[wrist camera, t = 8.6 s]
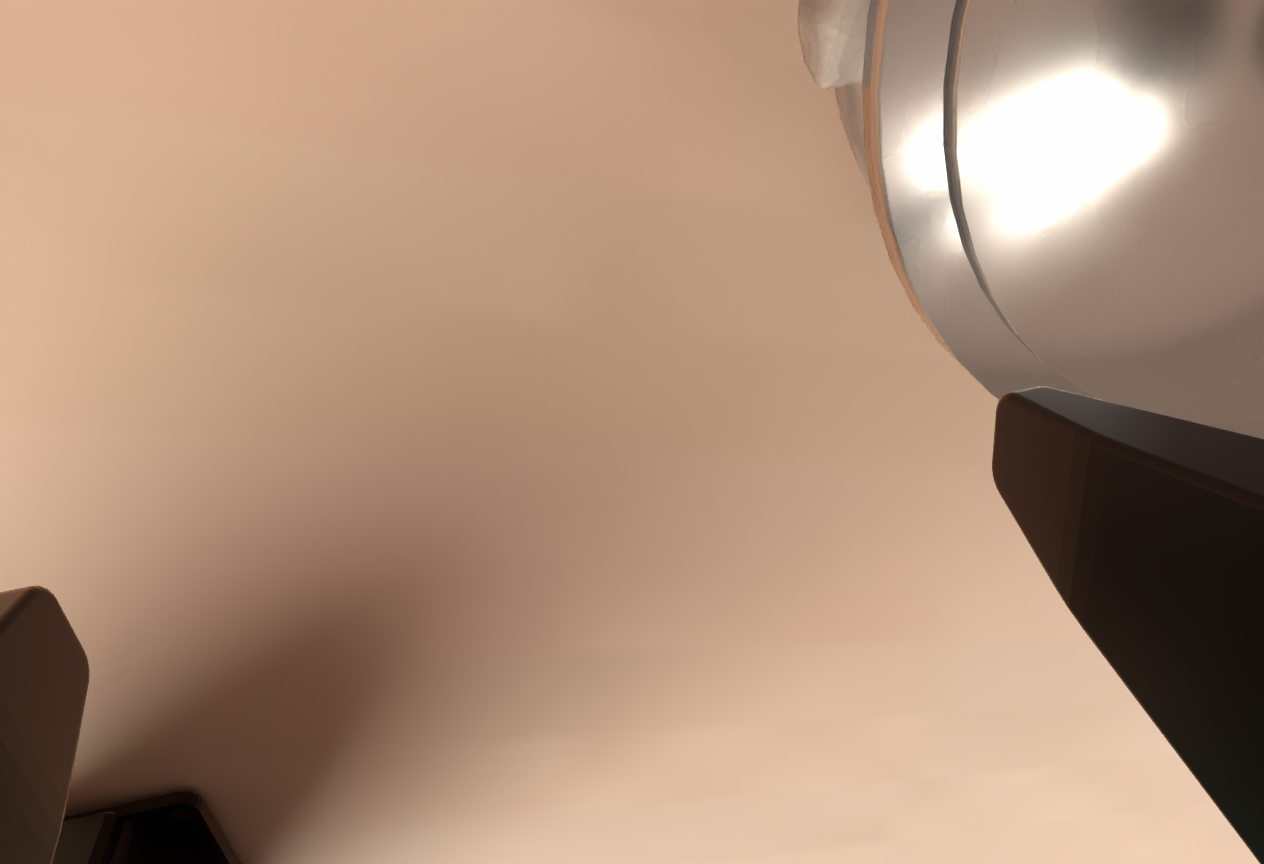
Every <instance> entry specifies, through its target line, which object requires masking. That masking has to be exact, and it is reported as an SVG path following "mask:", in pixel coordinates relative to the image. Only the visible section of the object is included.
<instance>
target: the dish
mask: <svg viewBox="0 0 1264 864" xmlns="http://www.w3.org/2000/svg"><path fill="white" fill-rule="evenodd" d="M870 1H871V0H800V1H799V12H798V34H799V38H800V43H801V48H802V53H803V57H804V62H805V63H806V65H807V67H808V69H809V71H810V73H811V75H812V77H813V79H814V81H815V83H816V84H817V85H818V86H820V87H821V88H834V87H835V92H836V97H837V102H838V106H839V111H840V115H841V119H842V122H843V125H844V128H845V131H846V134H847V137H848V139H849V142H850V145H851V148H852V151H853V153H854V156H855V158H856V160H857V163H858V165H859V167H860V169H861V172H862V174H863V176H864V177H865V179H866V181H867V183H868V185H869V187H870V181H869V175H868V170H867V164H866V158H865V152H864V129H863V103H862V78H863V66H864V54H865V42H866V29H867V17H868V11H869V6H870ZM870 188H871V187H870Z"/></svg>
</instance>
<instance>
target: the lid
mask: <svg viewBox="0 0 1264 864" xmlns="http://www.w3.org/2000/svg"><path fill="white" fill-rule="evenodd" d="M862 103H863V129H864V152H865V158H866V164H867V170H868V175H869V181H870V187H871V193H872V199H873V205H874V210H875V213H876V216H877V220H878V223H879V226H880V229H881V232H882V235H883V238H884V242H885V245H886V248H887V251H888V254H889V257H890V260H891V263H892V265H893V267H894V269H895V271H896V273H897V275H898V277H899V279H900V281H901V283H902V285H903V287H904V289H905V291H906V293H907V295H908V297H909V299H910V301H911V303H912V305H913V307H914V308H915V310H916V311H917V312H918V314H919V315H920V317H921V318H922V319H923V321H924V322H925V324H926V325H927V326H928V328H929V329H930V331H931V332H932V333H933V335H934V336H935V338H936V339H937V340H938V342H939V343H940V344H941V345H942V346H943V347H944V348H945V349H946V350H947V351H948V352H949V353H950V354H951V355H952V356H953V357H954V358H955V359H956V360H957V361H958V362H959V363H960V364H961V365H962V366H963V367H964V368H965V369H966V370H967V371H968V372H969V373H970V374H971V375H972V376H973V377H974V378H975V379H976V380H977V381H978V382H979V383H980V384H982V385H983V386H984V387H985V388H986V389H987V390H988V391H989V392H990V393H991V394H993V395H994V396H995V397H997V398H998V399H1001V398H1002V397H1003V396H1004V395H1005V394H1006V393H1009V392H1013V391H1018V390H1023V389H1028V388H1033V387H1039V386H1045V387H1051V388H1055V389H1059V390H1063V391H1067V392H1071V393H1075V394H1079V395H1084V396H1088V397H1092V398H1096V399H1100V400H1104V401H1108V402H1112V403H1117V404H1121V405H1125V406H1129V407H1133V408H1137V409H1141V410H1145V411H1150V412H1154V413H1158V414H1162V415H1166V416H1170V417H1174V418H1179V419H1183V420H1187V421H1191V422H1195V423H1199V424H1203V425H1207V426H1212V427H1216V428H1220V429H1224V430H1228V431H1232V432H1236V433H1240V434H1245V435H1249V436H1253V437H1257V438H1261V439H1264V0H871V1H870V6H869V11H868V17H867V29H866V42H865V54H864V66H863V78H862Z"/></svg>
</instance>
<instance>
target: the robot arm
mask: <svg viewBox="0 0 1264 864" xmlns="http://www.w3.org/2000/svg"><path fill="white" fill-rule="evenodd" d="M992 471H993V477H994V481H995V484H996V487H997V489H998V491H999V493H1000V495H1001V496H1002V498H1003V500H1004V501H1005V503H1006V505H1007V507H1008V508H1009V510H1010V512H1011V513H1012V515H1013V517H1014V518H1015V520H1016V522H1017V524H1018V525H1019V527H1020V529H1021V530H1022V532H1023V534H1024V535H1025V537H1026V539H1027V540H1028V542H1029V544H1030V546H1031V547H1032V549H1033V551H1034V552H1035V554H1036V556H1037V557H1038V559H1039V561H1040V563H1041V564H1042V566H1043V568H1044V569H1045V571H1046V573H1047V574H1048V576H1049V578H1050V579H1051V581H1052V583H1053V585H1054V586H1055V588H1056V590H1057V591H1058V593H1059V594H1060V596H1061V597H1062V599H1063V601H1064V602H1065V604H1066V605H1067V607H1068V608H1069V610H1070V611H1071V613H1072V614H1073V615H1074V617H1075V618H1076V619H1077V621H1078V622H1079V624H1080V625H1081V626H1082V628H1083V629H1084V631H1085V632H1086V633H1087V635H1088V636H1089V637H1090V639H1091V640H1092V641H1093V643H1094V644H1095V645H1096V646H1097V648H1098V649H1099V650H1100V652H1101V653H1102V654H1103V656H1104V657H1105V658H1106V660H1107V661H1108V662H1109V664H1110V665H1111V666H1112V668H1113V669H1114V670H1115V672H1116V673H1117V674H1118V676H1119V677H1120V678H1121V680H1122V681H1123V682H1124V684H1125V685H1126V686H1127V688H1128V689H1129V690H1130V692H1131V693H1132V694H1133V696H1134V697H1135V698H1136V700H1137V701H1138V702H1139V704H1140V705H1141V706H1142V708H1143V709H1144V710H1145V711H1146V713H1147V714H1148V715H1149V717H1150V718H1151V719H1152V721H1153V722H1154V723H1155V725H1156V726H1157V727H1158V729H1159V730H1160V731H1161V733H1162V734H1163V735H1164V737H1165V738H1166V739H1167V741H1168V742H1169V743H1170V745H1171V746H1172V747H1173V749H1174V750H1175V751H1176V753H1177V754H1178V755H1179V757H1180V758H1181V759H1182V761H1183V762H1184V763H1185V765H1186V766H1187V767H1188V769H1189V770H1190V771H1191V772H1192V774H1193V775H1194V776H1195V778H1196V779H1197V780H1198V782H1199V783H1200V784H1201V786H1202V787H1203V788H1204V790H1205V791H1206V792H1207V794H1208V795H1209V796H1210V798H1211V799H1212V800H1213V802H1214V803H1215V804H1216V806H1217V807H1218V808H1219V810H1220V811H1221V812H1222V814H1223V815H1224V816H1225V818H1226V819H1227V820H1228V822H1229V823H1230V824H1231V826H1232V827H1233V828H1234V830H1235V831H1236V832H1237V834H1238V835H1239V836H1240V837H1241V839H1242V840H1243V841H1244V843H1245V844H1246V845H1247V847H1248V848H1249V849H1250V851H1251V852H1252V853H1253V855H1254V856H1255V857H1256V859H1257V860H1258V861H1259V863H1260V864H1264V439H1261V438H1257V437H1253V436H1249V435H1245V434H1240V433H1236V432H1232V431H1228V430H1224V429H1220V428H1216V427H1212V426H1207V425H1203V424H1199V423H1195V422H1191V421H1187V420H1183V419H1179V418H1174V417H1170V416H1166V415H1162V414H1158V413H1154V412H1150V411H1145V410H1141V409H1137V408H1133V407H1129V406H1125V405H1121V404H1117V403H1112V402H1108V401H1104V400H1100V399H1096V398H1092V397H1088V396H1084V395H1079V394H1075V393H1071V392H1067V391H1063V390H1059V389H1055V388H1051V387H1045V386H1039V387H1033V388H1028V389H1023V390H1018V391H1013V392H1009V393H1006V394H1005V395H1004V396H1003V397H1002V398H1001V399H1000V400H999V402H998V405H997V410H996V420H995V433H994V447H993V460H992ZM88 684H89V665H88V660H87V657H86V654H85V652H84V650H83V648H82V646H81V644H80V642H79V640H78V638H77V636H76V635H75V633H74V631H73V629H72V627H71V625H70V623H69V621H68V620H67V618H66V616H65V614H64V612H63V610H62V608H61V607H60V605H59V603H58V601H57V599H56V598H55V596H54V595H53V594H52V593H51V592H50V591H49V590H48V589H46V588H43V587H41V586H30V587H25V588H20V589H15V590H10V591H5V592H0V864H239V862H238V860H237V859H236V857H235V855H234V853H233V852H232V850H231V848H230V846H229V845H228V843H227V841H226V839H225V838H224V836H223V834H222V832H221V831H220V829H219V827H218V825H217V823H216V822H215V820H214V818H213V816H212V815H211V813H210V811H209V809H208V808H207V806H206V804H205V802H204V801H203V799H202V798H201V797H200V796H199V795H197V794H195V793H193V792H187V791H183V792H176V793H171V794H167V795H162V796H158V797H154V798H149V799H145V800H141V801H136V802H132V803H128V804H123V805H119V806H115V807H110V808H106V809H102V810H97V811H93V812H88V813H84V814H80V815H75V816H71V817H67V818H64V814H65V810H66V805H67V800H68V794H69V788H70V783H71V777H72V772H73V766H74V761H75V755H76V750H77V744H78V739H79V733H80V728H81V722H82V717H83V711H84V706H85V700H86V695H87V689H88ZM181 809H183V810H181Z"/></svg>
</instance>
